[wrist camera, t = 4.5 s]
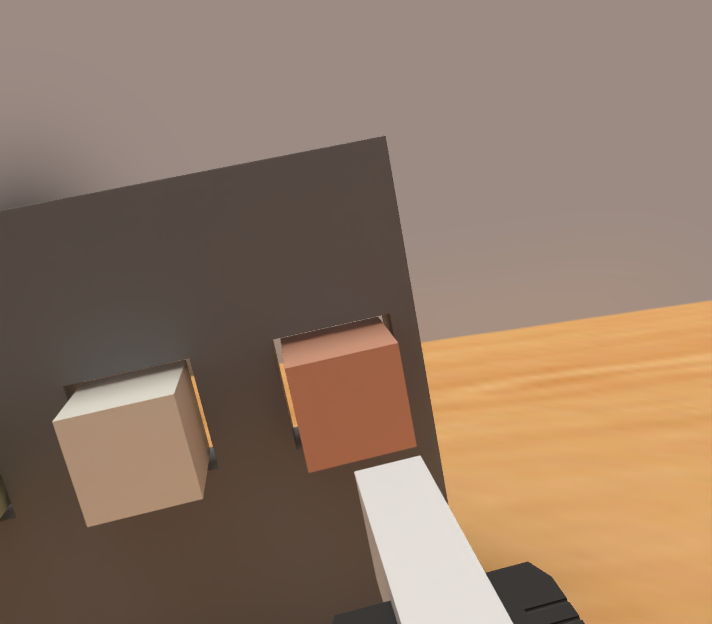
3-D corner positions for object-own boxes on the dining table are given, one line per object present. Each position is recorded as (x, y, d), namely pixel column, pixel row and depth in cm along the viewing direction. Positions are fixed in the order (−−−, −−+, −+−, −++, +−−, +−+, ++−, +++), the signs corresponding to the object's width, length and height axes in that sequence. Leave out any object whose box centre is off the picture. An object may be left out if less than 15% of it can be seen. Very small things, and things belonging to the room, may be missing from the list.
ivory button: (87, 527, 20) (52, 421, 19) (111, 474, 24) (82, 382, 23) (203, 498, 20) (173, 394, 20) (210, 450, 24) (186, 359, 23)
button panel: (-58, 739, 24) (-268, 263, 19) (25, 584, 32) (-106, 230, 28) (464, 597, 26) (385, 135, 21) (411, 487, 34) (347, 142, 30)
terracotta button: (308, 473, 21) (284, 368, 20) (301, 429, 24) (280, 338, 23) (417, 446, 21) (398, 342, 20) (394, 407, 25) (378, 316, 24)
